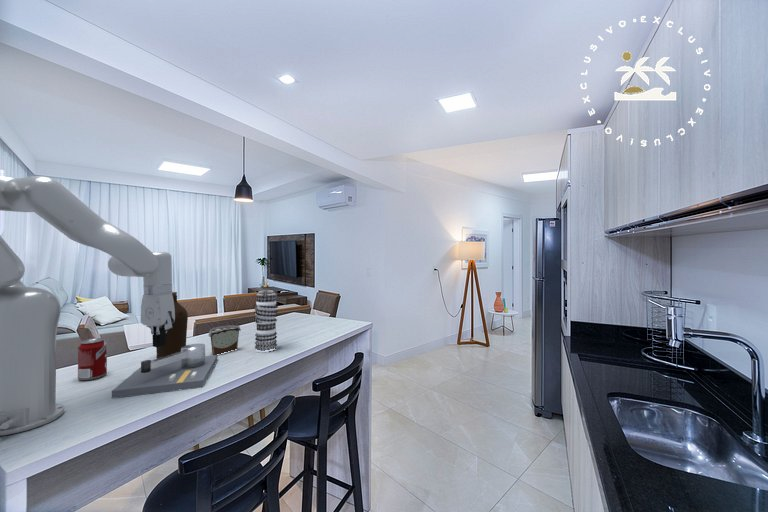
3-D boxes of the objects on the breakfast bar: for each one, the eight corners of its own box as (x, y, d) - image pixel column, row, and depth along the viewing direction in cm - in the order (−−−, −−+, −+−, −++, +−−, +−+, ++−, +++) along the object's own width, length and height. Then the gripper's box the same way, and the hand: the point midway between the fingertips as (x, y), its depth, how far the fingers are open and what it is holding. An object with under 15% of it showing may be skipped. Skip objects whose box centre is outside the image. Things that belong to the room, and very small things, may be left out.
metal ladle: (195, 359, 109) (195, 342, 109) (209, 361, 106) (209, 344, 106) (133, 380, 90) (133, 360, 90) (149, 383, 88) (149, 363, 88)
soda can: (88, 382, 94) (89, 343, 94) (71, 380, 95) (72, 342, 95) (112, 374, 101) (112, 338, 101) (96, 372, 102) (96, 337, 102)
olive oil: (192, 350, 126) (192, 290, 126) (179, 359, 115) (180, 293, 116) (163, 352, 124) (164, 291, 124) (148, 361, 114) (149, 294, 114)
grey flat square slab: (202, 386, 91) (202, 376, 91) (111, 398, 84) (111, 387, 84) (217, 360, 115) (217, 352, 115) (147, 367, 107) (147, 358, 107)
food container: (233, 346, 132) (233, 323, 132) (240, 349, 128) (240, 325, 128) (202, 354, 122) (202, 329, 122) (209, 357, 118) (210, 331, 118)
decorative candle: (282, 348, 130) (282, 289, 130) (265, 354, 122) (266, 292, 122) (266, 345, 134) (266, 288, 134) (249, 351, 126) (249, 291, 126)
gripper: (130, 290, 98) (131, 346, 98) (162, 292, 93) (163, 352, 93) (154, 287, 105) (156, 340, 105) (185, 289, 100) (186, 344, 100)
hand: (159, 345), depth 99 cm, fingers closed
